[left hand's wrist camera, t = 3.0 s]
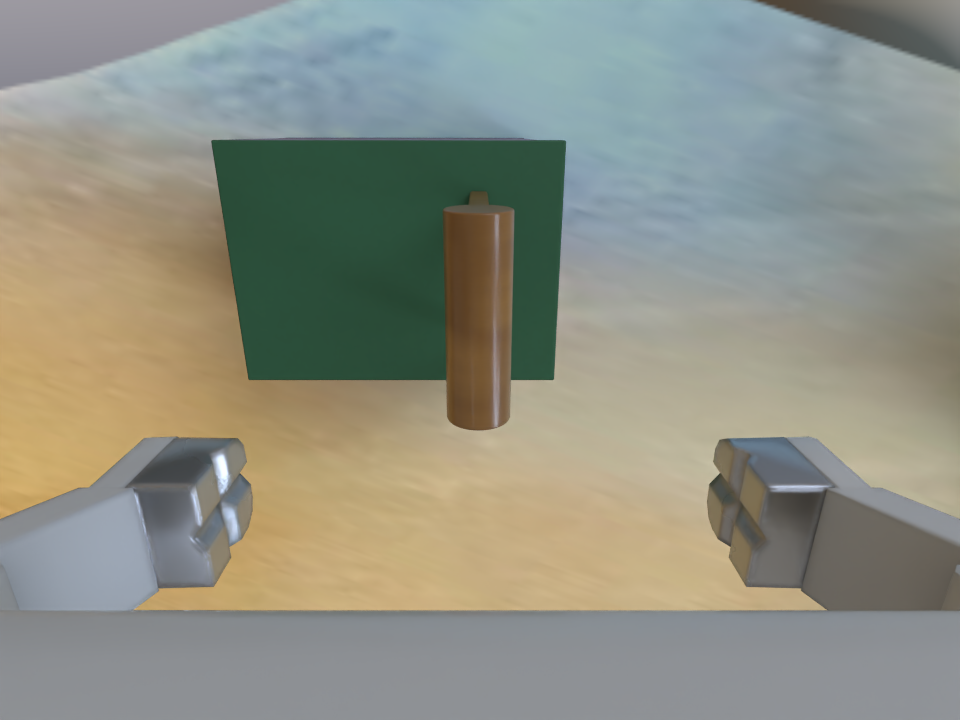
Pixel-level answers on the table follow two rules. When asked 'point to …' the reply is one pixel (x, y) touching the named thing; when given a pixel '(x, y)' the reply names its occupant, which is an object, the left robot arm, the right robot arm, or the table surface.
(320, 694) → the left robot arm
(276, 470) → the table surface
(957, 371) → the table surface
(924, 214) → the table surface
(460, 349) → the lid
